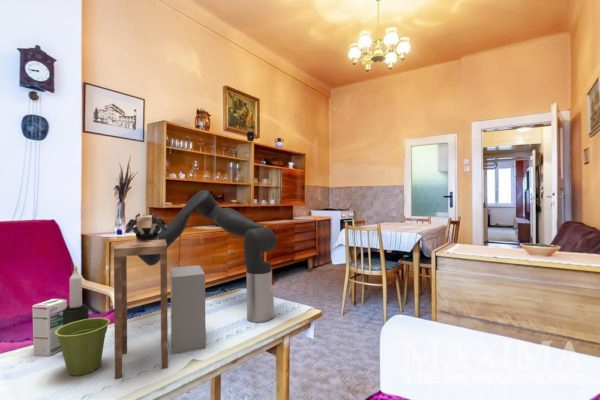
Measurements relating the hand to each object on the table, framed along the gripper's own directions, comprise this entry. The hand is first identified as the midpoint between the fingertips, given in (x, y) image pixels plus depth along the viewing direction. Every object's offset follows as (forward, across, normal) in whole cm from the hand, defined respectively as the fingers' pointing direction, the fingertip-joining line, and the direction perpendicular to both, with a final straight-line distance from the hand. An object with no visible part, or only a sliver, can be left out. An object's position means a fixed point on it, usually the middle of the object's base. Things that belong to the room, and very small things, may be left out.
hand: (145, 215), depth 103 cm
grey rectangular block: (-9, +12, +40) cm, 42 cm away
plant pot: (-4, -14, +43) cm, 45 cm away
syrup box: (-18, -25, +35) cm, 47 cm away
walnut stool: (-3, 0, +43) cm, 43 cm away
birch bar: (+2, 0, +5) cm, 5 cm away
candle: (-15, -18, +37) cm, 44 cm away
